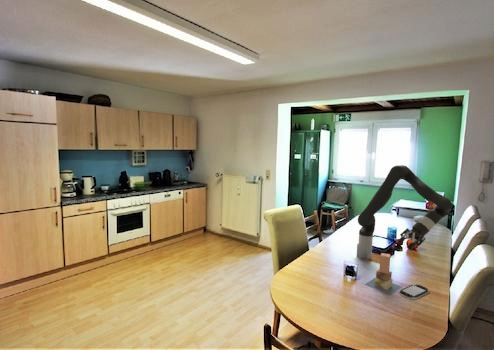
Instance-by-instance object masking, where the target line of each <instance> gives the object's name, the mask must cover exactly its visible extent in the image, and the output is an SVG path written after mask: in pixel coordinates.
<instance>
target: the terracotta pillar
mask: <svg viewBox="0 0 494 350" xmlns="http://www.w3.org/2000/svg"><path fill="white" fill-rule="evenodd" d="M390 264H391V254H390V253H383V252H381V253H380V256H379V269H378V270H379V272H381V273H385V274H388V273H389V271H390V269H391V268H390V267H391V266H390Z"/></svg>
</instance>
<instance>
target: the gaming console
mask: <svg viewBox="0 0 494 350" xmlns="http://www.w3.org/2000/svg"><path fill="white" fill-rule="evenodd" d="M398 293H399V294H400V295H401V296H402V297H404V298H406V299H409V300H417V299H420V298H422V297H423V296H426V295H427V294H429V293H430V289H428V288H427V286H426V287H425V286H423V285H421V284H411V285H408V286H406V287H404V288H402V289H399V291H398Z"/></svg>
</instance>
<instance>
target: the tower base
mask: <svg viewBox="0 0 494 350" xmlns="http://www.w3.org/2000/svg"><path fill="white" fill-rule="evenodd" d="M374 278H375V282H374V285H375V286H378V287H380V288H383V289H385V290H387V289H389V288H390V287H391V286H392V283H393V278H392V277H391V279H390V280H388V281H387V282H386V281H383V280H381V279H378V278H376V276H375V277H374Z"/></svg>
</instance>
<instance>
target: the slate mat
mask: <svg viewBox="0 0 494 350" xmlns="http://www.w3.org/2000/svg"><path fill="white" fill-rule="evenodd" d="M374 282H375V277H374V278H372V279H371V280H369V281H367V282H366V283H365V284H364V285H365V286H367V287H369V288H372V289H374V290H377V291H379V292H382V293H384V294H386V295H389V296H392V295H393V294H395V293H396V292H397V291H400V290H401V288H402V287H403V286H402V285H399V284H397V283H394V282H392V286H391V287H390V288H389V289H387V290H385V289H383V288H380V287H378V286H375V285H374Z"/></svg>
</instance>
